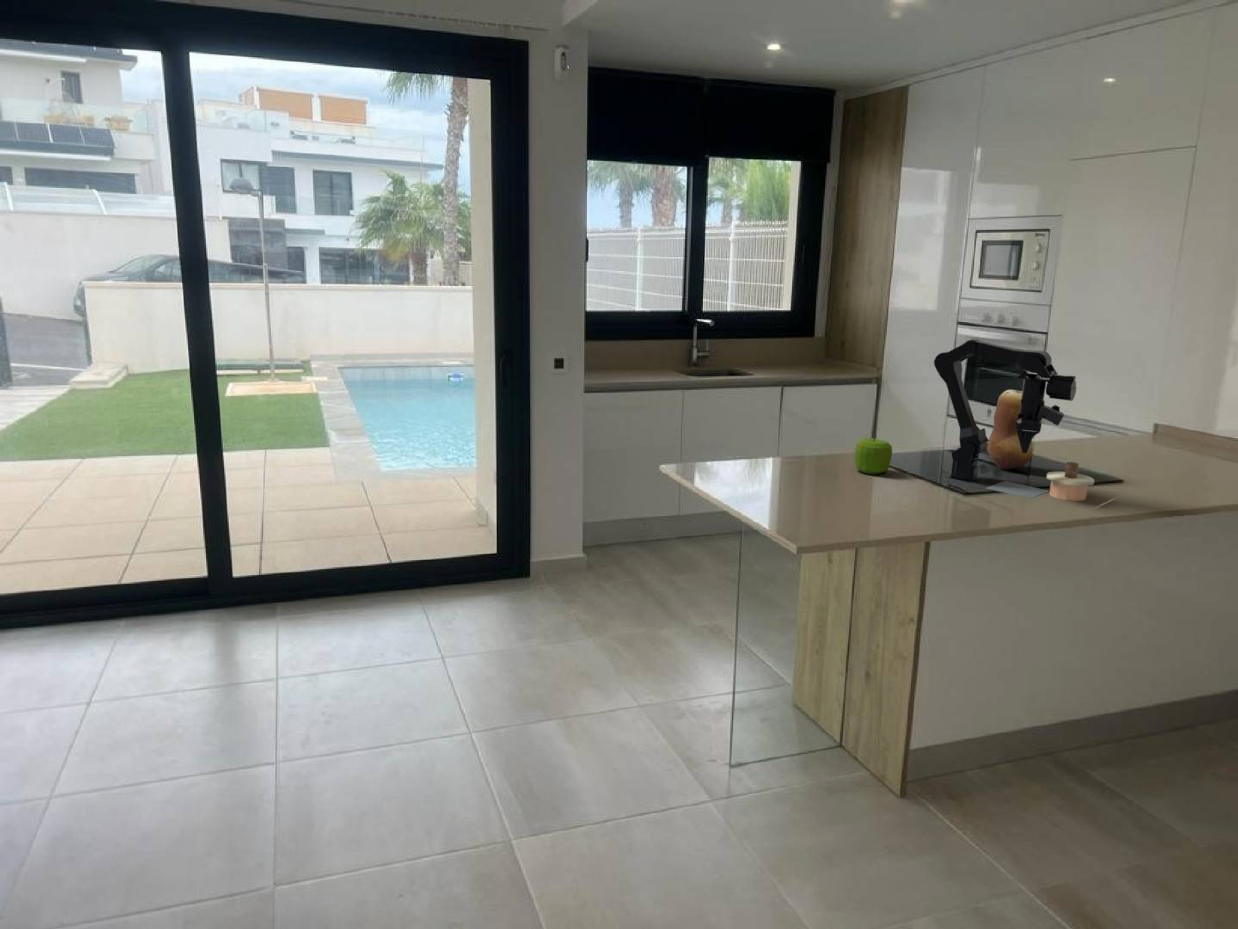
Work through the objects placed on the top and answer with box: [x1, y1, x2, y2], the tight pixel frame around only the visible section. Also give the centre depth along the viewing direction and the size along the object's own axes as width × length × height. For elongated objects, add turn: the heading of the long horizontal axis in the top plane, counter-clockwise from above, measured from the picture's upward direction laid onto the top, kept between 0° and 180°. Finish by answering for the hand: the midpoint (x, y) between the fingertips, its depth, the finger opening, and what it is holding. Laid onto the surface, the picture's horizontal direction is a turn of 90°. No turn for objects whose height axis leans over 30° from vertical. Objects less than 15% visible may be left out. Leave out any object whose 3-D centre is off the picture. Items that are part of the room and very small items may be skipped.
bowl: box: [1048, 481, 1089, 502], centre depth 250 cm, size 9×9×5 cm
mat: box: [985, 480, 1050, 499], centre depth 256 cm, size 13×13×1 cm
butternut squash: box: [986, 389, 1034, 471], centre depth 279 cm, size 14×13×25 cm
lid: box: [1046, 461, 1095, 487], centre depth 249 cm, size 12×12×5 cm
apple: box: [853, 437, 893, 475], centre depth 271 cm, size 11×11×11 cm
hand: (1024, 449), depth 254 cm, fingers open, 9 cm apart
